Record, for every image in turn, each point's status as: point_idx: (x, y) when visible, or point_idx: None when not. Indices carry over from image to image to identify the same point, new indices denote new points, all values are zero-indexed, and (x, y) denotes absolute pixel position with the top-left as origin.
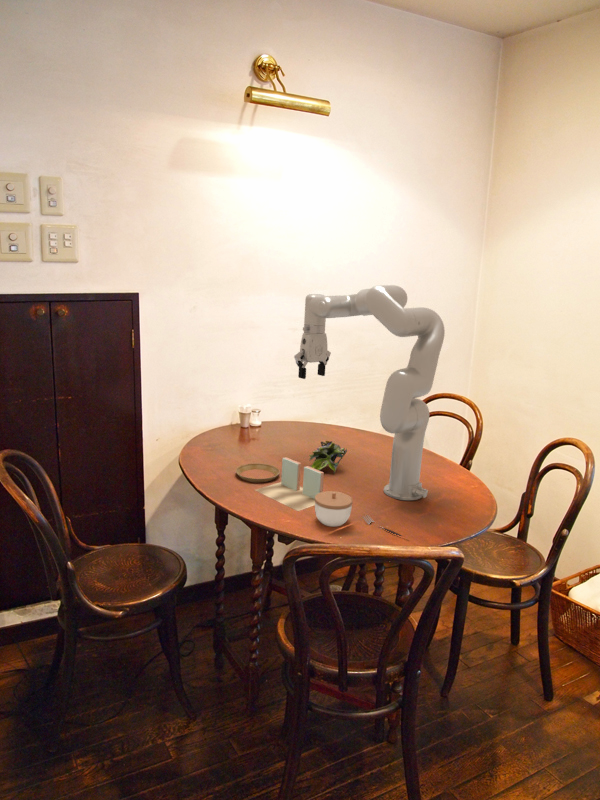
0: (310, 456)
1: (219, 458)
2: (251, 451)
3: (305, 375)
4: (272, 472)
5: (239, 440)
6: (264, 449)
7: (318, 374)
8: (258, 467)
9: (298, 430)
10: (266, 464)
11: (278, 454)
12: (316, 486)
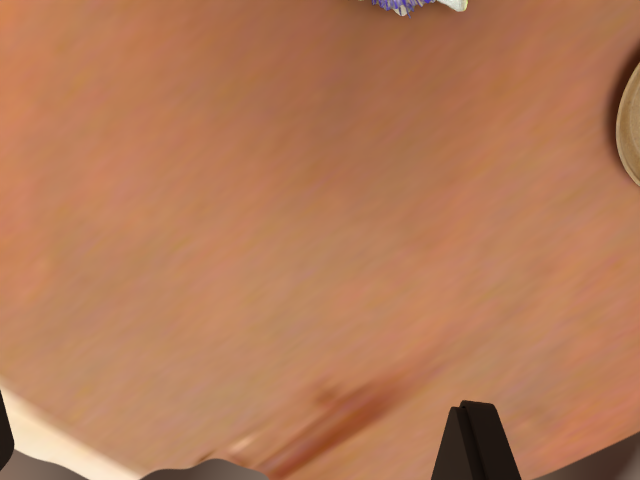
0: (460, 3)
1: (597, 344)
2: (445, 320)
3: (490, 449)
4: (636, 82)
5: (378, 416)
6: (388, 304)
7: (10, 437)
8: (632, 161)
9: (110, 358)
10: (620, 140)
11: (394, 232)
12: None
